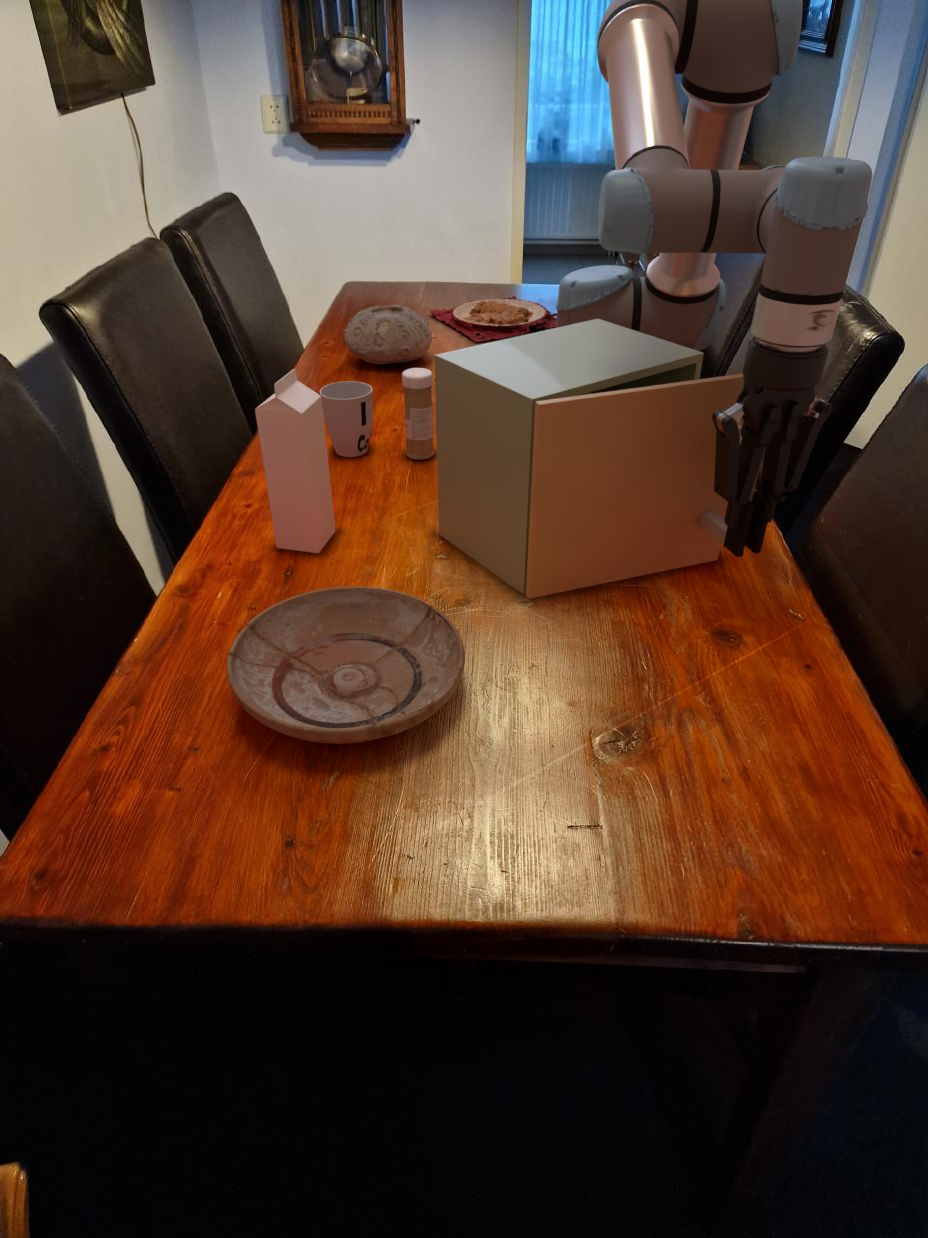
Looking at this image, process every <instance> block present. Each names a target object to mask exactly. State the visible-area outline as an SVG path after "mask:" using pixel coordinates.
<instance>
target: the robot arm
mask: <svg viewBox="0 0 928 1238" xmlns="http://www.w3.org/2000/svg"><path fill="white" fill-rule="evenodd" d="M803 7H804V3H803V0H611V2H610V3H609V4H608V6H607V8H606V10H605V12H604V14H603V16H602V18H601V21H600V23H599V28H598V32H597V38H596V54H597V55H596V56H597V65H598V68H599V71H600V73H601V77H602V78H603V79H604V80H605V82H606V83H607V85H608V96H609V98H608V99H609V108H610V120H611V132H612V143H613V154H614V155H613V156H614V166H615V168H614V169H612V170H610V171H608V172H606V174H605V175H604V176H603V177H602V182H601V186H600V192H599V193H600V194H599V201H598V202H599V203H598V213H597V214H598V215H597V220H598V221H597V222H598V223H597V226H598V227H597V236H598V241H599V244H600V246H601V248H603V250H606V251H609V252H621V253H622V252H623V253H624V252H625V253H631V254H633V255H642V254H658V256H657V257H655V258H653V259H652V260H651V261H650V262H649V264H647V268H646V271H645V276H633V274H632V272H631V271H632V270H631V269H630V268H629V267H627V266H624V265H613V264H603V265H594V266H589V267H584V268H580V269H576V270H574V271H571V272H569V273H568V274H566V275H565V276H563V278H562V279H561V281H560V282H559V284H558V285H559V286H558V293H557V302H556V304H555V310H556V313H557V316H556V317H557V323H556V327H555V328H558V327H562V326H567V325H571V324H576V323H580V322H585V321H589V320H594V319H601V320H604V321H607V322H610V323H613V324H616V325H619V326H622V327H626V328H629V329H632V330H635V331H638V332H641V333H644V334H647V335H650V336H653V337H656V338H659V339H663V340H666V341H669V342H672V343H675V344H678V345H681V346H684V347H687V348H690V349H693V350H697V351H700V352H701V351H702V350H704V349H707V348H708V347H709V346H710V345H711V344H712V343H713V341H714V339H715V338H716V336H717V334H718V332H719V329H720V327H721V324H722V321H723V317H724V309H725V306H726V301H727V288H726V283H725V282H724V280H723V279H722V278H721V273H720V270H719V268H718V267H717V265H716V264H715V260H716V258H717V257H716V256H717V254H761V255H763V254H764V255H765V257H764V261H763V268H762V274H761V279H760V282H759V287H758V292H757V297H756V301H755V305H754V311H753V316H752V320H751V325H750V329H749V332H750V335H752V336H753V337H752V338H751V339H750V340H749V341H748V342H747V347H746V351H745V357H744V363H743V367H742V374H743V378H744V386H743V388H742V391H741V392H740V394H739V395H738V397H737V400H736V404H735V405H734V406H732V407H731V408H729V409H728V410H726V411H725V412H723V411H721V410H716V411H715V412H714V413H713V415H712V420H713V423H714V426H715V428H716V454H715V476H714V491H715V492H716V493H717V494H718V495H719V496H721V497H722V498H723V499H725V500H726V501H727V502H728V504H727V509H726V514H725V519H724V522H725V524H726V525H727V531H726V536H725V540H724V543H723V547H724V548H725V549H726V550H728V551H729V552H730V553H731V554H732V555H734V556H735V557H736V558H740V557H743V556H744V552H745V547H746V548H747V549H748V550H750V551H751V552H752V553H753V554H754V555H756V554H761V553H762V548H763V543H764V540H765V536H766V531H767V529H768V524H769V523H770V524H771V522H772V520H773V519H774V517H775V511H776V507H777V503H783V502H784V501H785V500H786V499H787V497H788V496H787V495H786V494H785V492H794V491H796V489H797V488H798V486H799V485H800V482H801V478H802V476H803V473H804V471H805V469H806V466H807V464H808V461H809V459H810V456H811V453H812V451H813V448H814V446H815V443H816V441H817V439H818V436H819V433H820V430H821V428H822V426H823V425H824V423H825V422H826V420H827V419H828V418H829V416H830V415H831V413H832V412H833V410H834V405H833V404H832V403H830V402H828V401H826V400H823V399H822V398H820V397H818V396H817V391H816V387H817V386H819V385H820V383H821V382H822V379H823V375H824V372H825V367H826V365H827V360H828V355H829V352H830V349H829V348H828V346H827V343H829V342H831V340H832V339H833V335H834V331H835V327H836V323H837V320H838V317H839V316H838V315H839V312H840V308H841V304H842V300H843V296H844V293H845V289H846V285H847V281H848V279H849V278H848V277H849V274H850V270H851V266H852V263H853V259H854V255H855V251H856V248H857V244H858V240H859V236H860V233H861V229H862V225H863V222H864V219H865V217H866V215H867V212H868V209H869V196H870V190H871V186H872V180H873V170H872V169H873V168H872V167H871V166H870V164H868V163H867V162H866V161H864V160H860V159H852V158H848V157H837V156H804V157H803V156H802V157H797V158H794V159H792V160H791V161H789V162H788V163H787V164H786V165H783V164H782V165H781V164H780V165H779V164H776V165H770V166H767V167H764V168H762V169H739V167H740V162H741V158H742V156H743V155H742V154H743V151H744V146H745V143H746V140H747V139H746V138H747V135H748V131H749V126H750V123H751V119H752V115H753V111H754V108H755V106H756V105H757V104H759V103H760V102H761V101H763V100H764V99H766V98H767V97H768V96H769V94H770V92H771V90H772V89H771V88H772V84H773V81H774V78H775V76H777V77H781V76H783V75H785V74H787V73H789V72H790V71H791V69H792V67H793V64H794V63H795V62H796V61H795V60H796V57H797V54H798V50H799V49H798V48H799V44H800V39H801V31H802V22H803ZM676 75H681V79H680V87H681V90H682V91H683V92H684V94H685V95H686V97H687V98H688V104H687V108H686V109H687V110H686V114H685V120H684V121H683V116H682V108H681V107H682V106H681V101H680V96H679V89H678V83H677V82H678V81H677V77H676ZM741 418H743V420H744V422H743V425H741ZM741 428H742V429H741ZM740 429H741V436H742V440H741V444H740V433H739V430H740ZM762 459H763V462H762ZM761 462H762V470H761V476H760V482H759V489H760V490H754V494H753V499H752V502H750V501H749V499H750V496H751V492H752V489H753V486H754V482H755V479H756V476H757V473H758V474H759V472H758V469H759V470H760V467H761ZM759 466H760V467H759ZM757 477H758V476H757Z"/></svg>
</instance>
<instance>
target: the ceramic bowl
mask: <svg viewBox="0 0 928 1238" xmlns="http://www.w3.org/2000/svg"><path fill="white" fill-rule="evenodd" d="M465 663H466V651H465V646H464V642H463V638H462V636H461V633H460V632H459V630H458V628H457V627H456V625H455V624H454V623H453V621H452V620H451V619H450V617H448V616H447V615H446V614H445V613H443V612H442V611H441V610H439V609H438V608H437V607H435V606H433V605H432V604H430V603H429V602H427V601H425V600H423V599H421V598H418V597H417V596H414V595H411V594H408V593H405V592H401V591H398V590H393V589H389V588H382V587H375V586H352V585H351V586H338V587H328V588H321V589H316V590H312V591H307V592H303V593H300V594H297V595H294V596H291V597H288V598H285V599H283V600H281V601H279V602H276V603H274V604H271V606H269V607H267V608H265V609H263V610H262V611H261V612H259V613H258V614H256V615H255V616H254V617H253V618H252V619H250V620H249V621H248V622H247V623H246V624H245V625H244V627H243V628H241V630H240V631H239V632H238V634H237V635H236V637H235V639H234V640H233V642H232V644H231V646H230V648H229V651H228V654H227V659H226V675H227V682H228V684H229V687H230V689H231V692H232V694H233V695H234V698H235V700H236V701H237V702H238V704H239V705H240V706H241V707H242V709H244V711H245V712H246V713H247V714H248V715H250V717H252V718H254V719H255V720H256V721H258V722H259V723H261V724H262V725H264V726H266V727H267V728H268V729H271V730H273V731H275V732H278V733H280V734H282V735H285V736H288V737H290V738H294V739H299V740H303V741H307V742H311V743H321V744H356V743H364V742H368V741H369V742H370V741H373V740H378V739H383V738H386V737H391V736H394V735H397V734H401V733H402V732H404V731H407V730H409V729H412V728H414V727H416V726H418V725H420V724H421V723H423V722H424V721H426V720H428V719H429V718H430V717H432V716H433V715H435V714H436V713H437V712H438V711H439V710H440V709H441V708H442V707H443V706H444V705H445V704H446V703H448V702H449V700H450V699H451V697H452V696H453V695H454V693H455V692H456V690H457V688H458V687H459V684H460V682H461V680H462V676H463V673H464V669H465V665H466V664H465Z"/></svg>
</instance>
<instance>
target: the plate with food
mask: <svg viewBox="0 0 928 1238" xmlns="http://www.w3.org/2000/svg"><path fill="white" fill-rule="evenodd" d="M429 313H430V314H431V315H432V316H433V318H435V319H437V320H438V321H439V322H444V323H446V324H447V325H450V326H451V327H452V328H454V329H455V330H456V331H458V332H459V333H462V334H463V335H464V336H467V337H468V338H469V339H471V340H472V341H474V343H481V342H485V341H489V342H490V340H491V339H493V340H496V341H497V340H503V339H505V338H512V337H516V336H522V335H526V334H529V333H530V332H531V330H530V329H529V327H530V326H535V328H536V329H541V328H542V327H543V328H544V329H545V330H549V329H553V328H556V323H557V312H555V313H552V312H551V311H550V310H548V309H547V307H545V306H544V305H542V304H540V303H539V302H534V301H531V300H523V299H519V298H517V296H516V295H512V297H510V296H508V297H507V298H506V297H503V298H486V299H485V298H484V299H478V300H470V301H467V302H464V303H462V304H460V305H457V307H455V308H452V307H451V308H449V309H445V308H443V310H441V309H429ZM477 334H478V335H477Z"/></svg>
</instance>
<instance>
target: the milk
mask: <svg viewBox="0 0 928 1238" xmlns="http://www.w3.org/2000/svg"><path fill="white" fill-rule="evenodd" d="M297 375H298V374H297V369H296V368H293V369H291V370H290V371H289V372H288V373H287V374H285V375H283V376H282V377H281V378H280V379H279V380H277V381H276V382H275V383H274V385H273V387H274V388H273V389H274V393H273V394H271V395H270V396H269V397H268V398H267V399H265V401H263V402H262V403H260V404H259V405H258V406H257V407H256V408H254V411H255V412H254V414H255V420H256V425H257V432H258V437H259V444H260V451H261V457H262V463H263V470H264V477H265V482H266V489H267V495H268V496H267V497H268V502H269V508H270V515H271V521H272V526H273V533H274V540H275V546H276V547H275V548H277V549H279V550H280V549H282V550H288V551H295V552H296V551H297V552H304V553H312V554H320V553H321V552H322V550H323V549H324V548H325V547H326V545H327V543H328V542H329V541H330V539H331V538H332V537H333V536H334V535H335V533H336V523H335V512H334V504H333V494H332V486H331V484H332V483H331V476H330V467H329V457H328V448H327V447H328V446H327V439H326V428H325V419H324V414H323V409H322V400H321V396H320V393H319V394H318V393H317V392H316V391H314V390H313V389H311V388H310V387H308V386H306V385H305V384H304V383H302V382H301V381H299V380H298V376H297Z"/></svg>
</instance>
